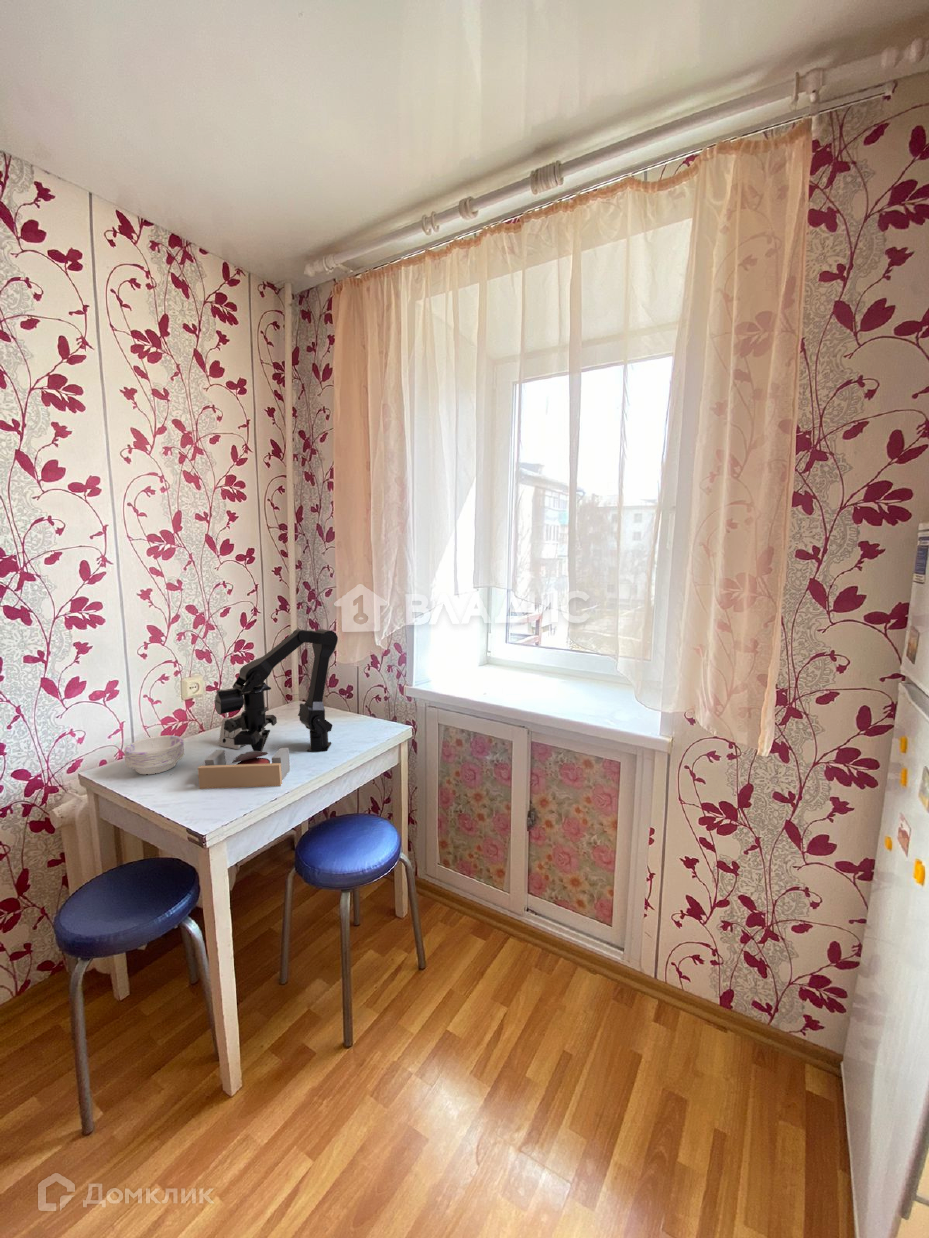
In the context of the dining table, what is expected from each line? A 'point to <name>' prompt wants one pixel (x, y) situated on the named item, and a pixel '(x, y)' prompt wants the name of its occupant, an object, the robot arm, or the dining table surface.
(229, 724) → the robot arm
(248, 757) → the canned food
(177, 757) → the paper bowls
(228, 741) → the electrical switch
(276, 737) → the dining table surface
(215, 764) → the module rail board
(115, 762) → the dining table surface
